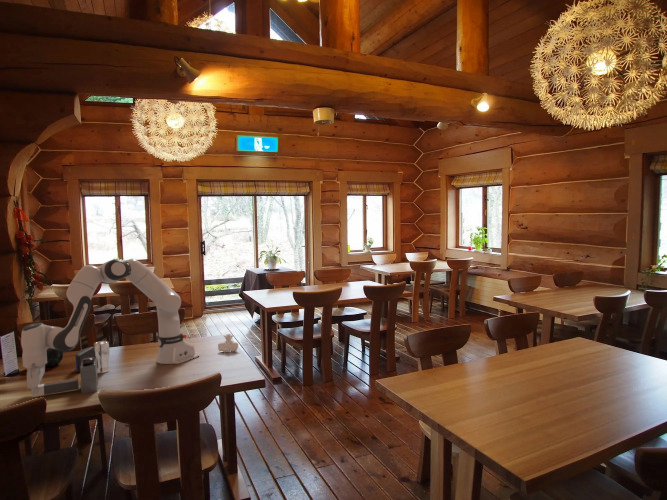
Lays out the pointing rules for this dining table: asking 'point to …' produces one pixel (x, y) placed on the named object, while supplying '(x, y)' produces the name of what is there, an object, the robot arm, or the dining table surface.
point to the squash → (53, 357)
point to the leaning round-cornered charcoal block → (83, 356)
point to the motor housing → (89, 375)
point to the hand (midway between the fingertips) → (37, 391)
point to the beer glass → (102, 356)
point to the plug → (56, 387)
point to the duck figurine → (228, 344)
